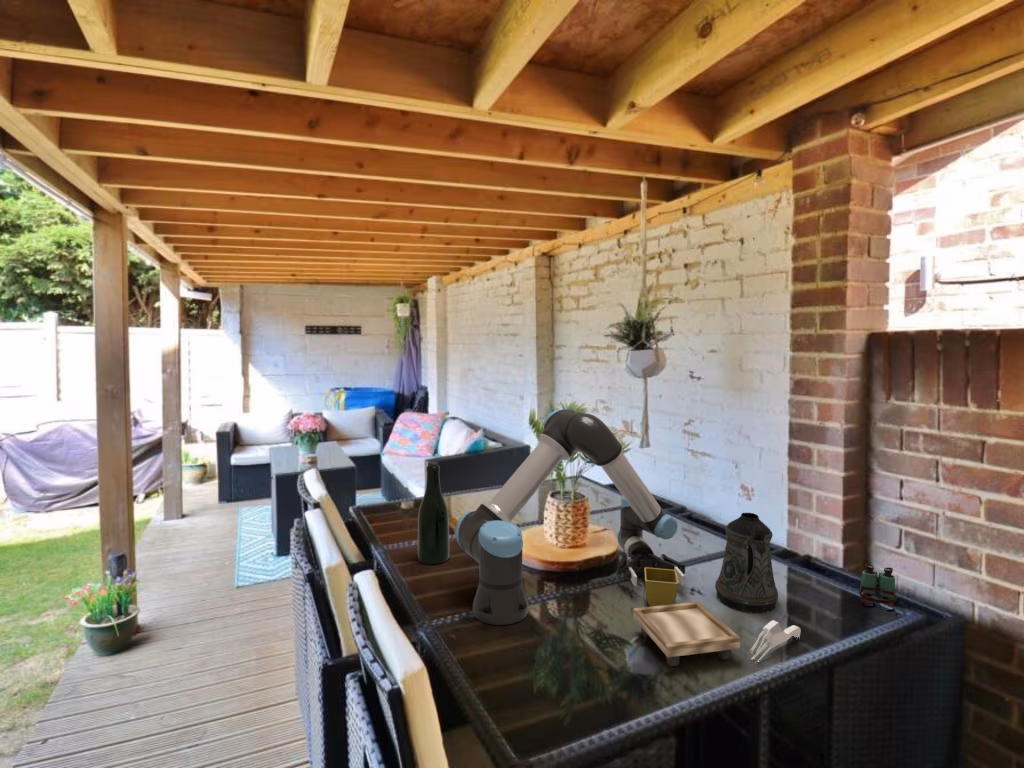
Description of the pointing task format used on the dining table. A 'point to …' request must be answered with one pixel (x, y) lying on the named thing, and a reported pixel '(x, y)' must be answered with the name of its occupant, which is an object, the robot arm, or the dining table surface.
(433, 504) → the dark green wine bottle
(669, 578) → the flower pot
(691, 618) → the plant caddy
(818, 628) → the dining table surface
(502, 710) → the dining table surface
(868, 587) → the binoculars
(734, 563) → the beer stein
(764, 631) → the llama figurine
